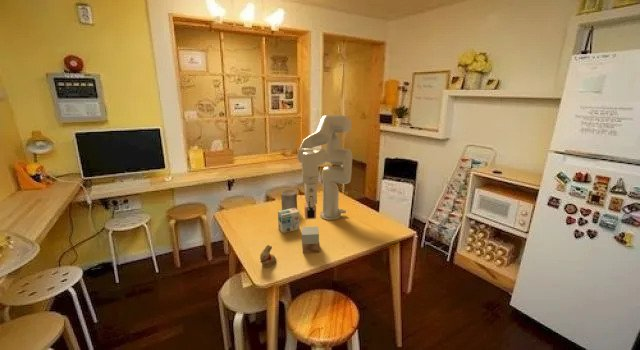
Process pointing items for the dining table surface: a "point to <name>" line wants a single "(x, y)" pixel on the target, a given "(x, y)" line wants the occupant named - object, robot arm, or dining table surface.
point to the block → (307, 209)
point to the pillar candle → (289, 199)
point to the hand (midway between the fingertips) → (310, 214)
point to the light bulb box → (288, 220)
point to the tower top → (310, 235)
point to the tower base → (311, 248)
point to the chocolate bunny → (267, 257)
